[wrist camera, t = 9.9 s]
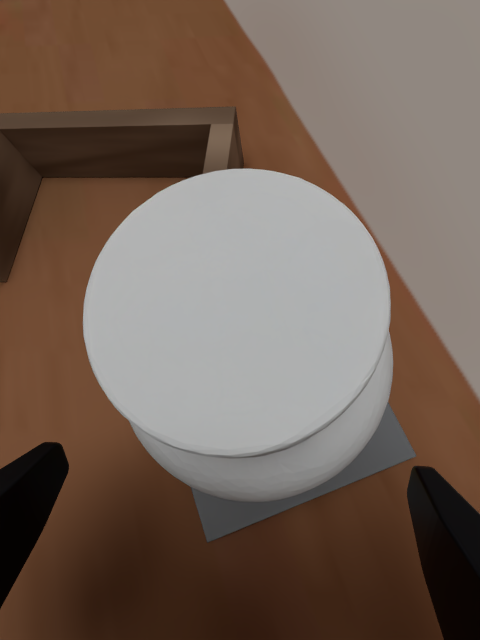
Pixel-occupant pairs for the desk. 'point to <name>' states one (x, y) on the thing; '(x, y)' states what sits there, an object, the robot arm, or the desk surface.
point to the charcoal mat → (376, 456)
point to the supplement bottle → (243, 332)
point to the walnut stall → (105, 153)
